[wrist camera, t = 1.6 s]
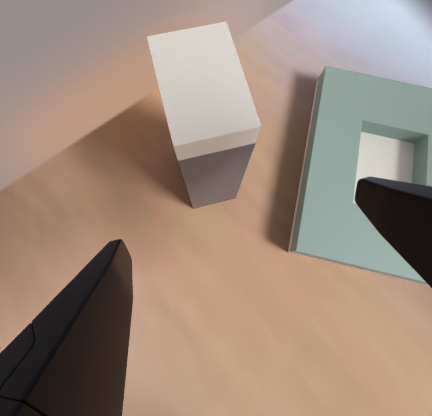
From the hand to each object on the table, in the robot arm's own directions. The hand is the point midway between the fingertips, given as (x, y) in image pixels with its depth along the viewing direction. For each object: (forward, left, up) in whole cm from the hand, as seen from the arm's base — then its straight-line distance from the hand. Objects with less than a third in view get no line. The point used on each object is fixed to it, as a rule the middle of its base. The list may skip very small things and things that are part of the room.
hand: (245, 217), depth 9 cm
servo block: (+5, +5, -13) cm, 15 cm away
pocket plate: (+13, -9, -13) cm, 20 cm away
